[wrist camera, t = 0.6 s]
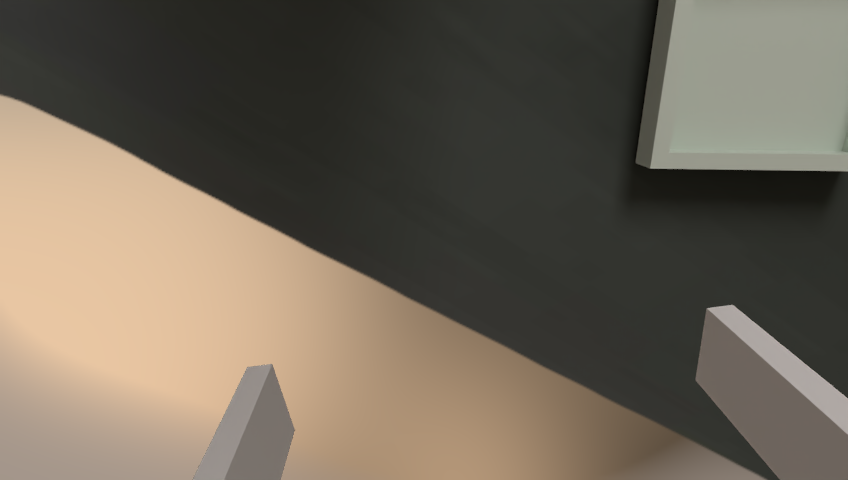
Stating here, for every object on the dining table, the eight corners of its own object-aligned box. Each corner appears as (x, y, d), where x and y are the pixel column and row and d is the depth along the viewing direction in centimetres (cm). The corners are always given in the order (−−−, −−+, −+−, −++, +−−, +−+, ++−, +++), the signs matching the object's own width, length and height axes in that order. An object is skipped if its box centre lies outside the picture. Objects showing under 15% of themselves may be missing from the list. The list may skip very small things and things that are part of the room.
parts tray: (668, -65, 31) (688, -82, 29) (913, -72, 30) (960, -89, 27) (635, 163, 36) (650, 168, 33) (845, 165, 35) (879, 171, 32)
